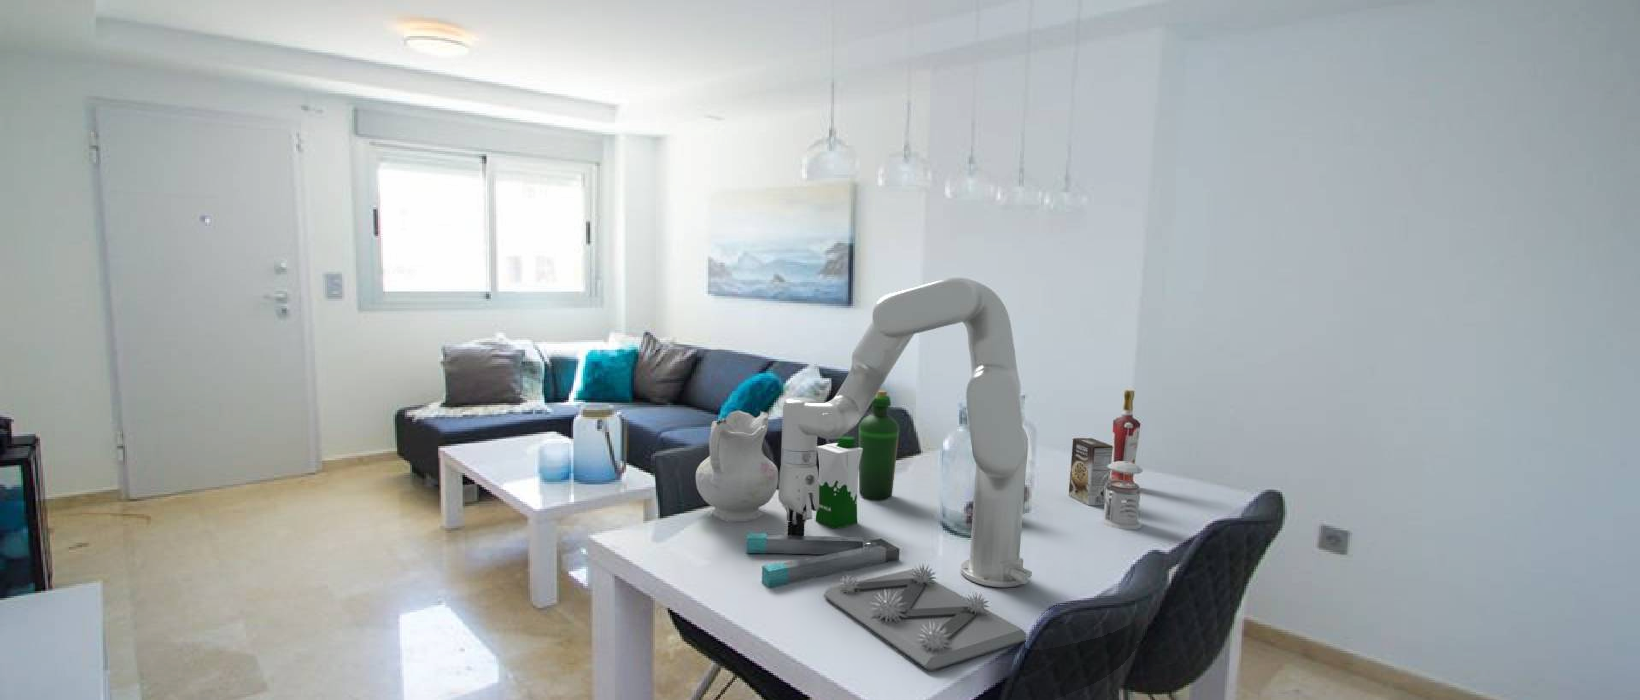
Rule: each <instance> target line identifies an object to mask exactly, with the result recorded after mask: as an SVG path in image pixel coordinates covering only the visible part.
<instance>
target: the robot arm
mask: <svg viewBox="0 0 1640 700" xmlns="http://www.w3.org/2000/svg"><path fill="white" fill-rule="evenodd" d="M871 316H872V317H871V318H872V320H871V322H870V324H869V325H868V327H867V328H866V331H865V332H864V333H863V336H862V337H861V339H860V340H859V341H858V343H857V345H855V348H854V350H853V352H852V355H851V367H850V369H849V372H848V374H847V376H846V378H845V379H844V381H843V383H842V384H841V386H840V388H839V389H838V391H837V392H836V394H835V396H834V397H833V398H832V399H830V400H829V401H826V402H821V403H818V401H817V400H815V399H814V398H811V397H806V396H805V397H803V396H794V397H793V396H791V397H788V398H787V399H785V400H784V402H783V404H782V421H781V422H782V423H781V445H780V446H781V449H780V452H781V453H780V463H781V464H780V470H779V475H778V500H779V502H780V503H781V506H782V507H783V508H784V510H785V512H786V521H787V535H796V536H805V524H806V523H807V521H808V520H812V519H813V514H812V513H813V512H812V511H814V512H817V511H818V509H819V468H818V466H817V460H818V458H817V457H818V452H817V446H818V438H822V439H826V440H838V438H840V437H842V436H845V434H847V433H848V432H849V431H852V429H854V428H855V427H856V426H858V425H859V422H861V419H862V418H863V416H864V415H865V413H866V412H867V410H868V409H869V407H870V406H871V405H870V404H871V403H872V401H873V399H874V398H875V396H876V395H877V393H878V391H879V390H881V387H882V386H883V385H884V383H885V381H886V380H887V378H888V376H889V374H890V373H891V371H892V369H893V368H894V366H895V365H896V363H897V362H898V360H899V358H900V357H901V355H902V353H903V352H904V350H905V349H906V347H908V345H909V343H910V342H911V339H912V338H914V335H915V334H920V333H924V332H928V331H932V330H935V329H940V328H944V327H947V326H953V325H955V324H956V325H957V324H960V323H963V324H964V326H965V329H966V332H967V339H968V340H967V342H968V343H967V344H968V351H969V354H970V355H969V356H970V357H969V358H970V364H971V365H970V366H971V377H970V379H969V381H968V384H967V385H966V389H965V390H966V392H965V395H966V397H965V400H966V411H967V418H968V419H967V420H968V427H969V436H970V446H971V452H972V458H973V460H974V462H975V464H976V465H975V473H974V474H975V475H974V488H973V501H972V515H971V516H972V518H971V519H972V521H971V534H970V535H971V536H970V550H969V558H968V559H967V560H965V561H963V562H962V563H961V566H960V567H961V568H960V572H961V575H963V576H964V578H966V579H968V580H969V581H971V582H974V583H976V584H980V585H983V586H987V587H991V588H992V587H993V588H1014V587H1018V586H1020V585H1026V584H1027V583H1028V582H1029V579H1030V578H1031V577H1032V575H1033V572H1032V571H1031V570H1029V569H1027V568H1024V558H1022V557H1020V555H1021V554H1020V553H1021V540H1022V539H1021V538H1022V527H1023V526H1022V525H1023V524H1022V523H1023V511H1024V499H1025V488H1026V487H1025V486H1026V473H1027V462H1028V452H1029V439H1028V434H1027V432H1026V430H1025V428H1024V427H1023V425H1024V424H1023V418H1022V409H1021V408H1022V407H1021V398H1020V397H1021V389H1022V387H1021V382H1020V381H1021V380H1020V378H1019V373H1018V367H1017V358H1016V357H1017V356H1016V349H1015V344H1014V338H1013V331H1012V330H1013V329H1012V324H1011V319H1010V316H1009V313H1008V310H1007V308H1006V306H1005V304H1004V302H1003V301H1002V299H1001V298H1000V297H999V296H998V295H997V293H996V292H994V291H993V290H992V288H990V287H988V286H986V285H984V284H982V283H980V282H978V281H976V280H973V279H970V278H966V277H950V278H949V277H948V278H945V279H941V280H937V281H934V282H931V283H927V284H923V285H919V286H916V287H913V288H909V289H904V290H900V291H897V292H892V293H888V294H885V295H883V296H882V297H881V298H880V299H878V300H877V302H876V303H875V305H874V307H873V310H872V315H871Z"/></svg>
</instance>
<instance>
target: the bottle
mask: <svg viewBox="0 0 1640 700" xmlns="http://www.w3.org/2000/svg"><path fill="white" fill-rule="evenodd" d="M887 394H888V390H883V389H879V391H878V393H877V395H876V396H875V398H874V399H873V401H872V403H871V404H870V406H871V413H870V414H868V415H867V416H865V417H864V418H863V419H862V420H860V423H858V447H859V448H862V449H863V450H862V454H861V459H860V463H859V469H858V489H859V490H858V493H859V494H860V496H861V497H862V498H865V499H868V500H874V501H884V500H887V499H889V498H890V499H891V497H892V495H893V491H894V490H893V489H894V479H895V473H896V471H895V470H896V461H897V452H898V446H899V445H898V444H899V436H900V425H899V424H898V422H897V420H896V419H894V418H893V417H892V416H890V415H889V414H888V412H889V407H890V406H891V405H892V403H891V396H890V395H887Z"/></svg>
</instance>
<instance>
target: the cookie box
mask: <svg viewBox="0 0 1640 700" xmlns="http://www.w3.org/2000/svg"><path fill="white" fill-rule="evenodd" d="M1071 448H1072V449H1071V457H1070V458H1071V460H1070V461H1071V462H1070V471H1069V482H1068V483H1069V484H1068V485H1069V487H1068V496H1069V497H1070V498H1073V499H1075V500H1077V501H1078V502H1081V503H1083V504H1085V505H1087V506H1105V502H1103V501H1105V498H1104V487H1105V484H1106V482H1107V481H1108V479H1109V475H1107V474H1110V475H1111V470H1110V469H1108V467H1107V466H1108V465H1109V464H1111V463H1112V451H1113V446H1112V445H1111V444H1109V443H1106V442H1104V441H1100V440H1098V439H1095V438H1092V437H1090V438H1085V437H1077V438H1076V437H1075V438H1072V446H1071ZM1105 475H1107V476H1106V477H1105V478H1104V479H1103V477H1104V476H1105ZM1102 479H1103V481H1102V483H1101V480H1102ZM1109 481H1110V479H1109ZM1109 481H1108V482H1109ZM1108 482H1107V485H1106V487H1105V496H1106V488H1107V487H1108V486H1110V485H1109V484H1108ZM1100 483H1101V486H1100V495H1101V499H1102V500H1103V501H1102V500H1101V499H1100V496H1099V485H1100Z"/></svg>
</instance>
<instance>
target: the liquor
mask: <svg viewBox="0 0 1640 700" xmlns="http://www.w3.org/2000/svg"><path fill="white" fill-rule="evenodd" d="M1123 392H1124V393H1123V397H1124V398H1123V399H1124V401H1123V407H1122V413H1121V416H1119V417H1116V418H1115V419H1113V420H1112V446H1113V451H1112V462H1111V463H1113V462H1117V461H1125V456H1126V461H1127V462H1131V463H1133V464H1135V465H1136V460H1137V459H1136V458H1137V451H1138V444H1139V437H1140V430H1141V422H1140V421H1138V420H1137V419H1136V418H1134V409H1133V407H1134V406H1133V404H1134V402H1133V401H1134V398H1135V390H1132V389H1125V390H1124V391H1123ZM1126 423H1131V424H1132V425H1133V428H1129V432H1128V428H1126V427H1124V425H1125V424H1126ZM1127 433H1128V444H1127ZM1126 444H1127V455H1126ZM1134 475H1135V474H1127V473H1125V478H1124V473H1119V472H1115V471H1112V470H1111V472H1110V477H1111V476H1115V480H1120V481H1121V480H1123V479H1124V481H1127V482H1128V481H1129V482H1131V483H1135V482H1134ZM1110 479H1112V480H1114V477H1112V478H1110Z"/></svg>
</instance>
